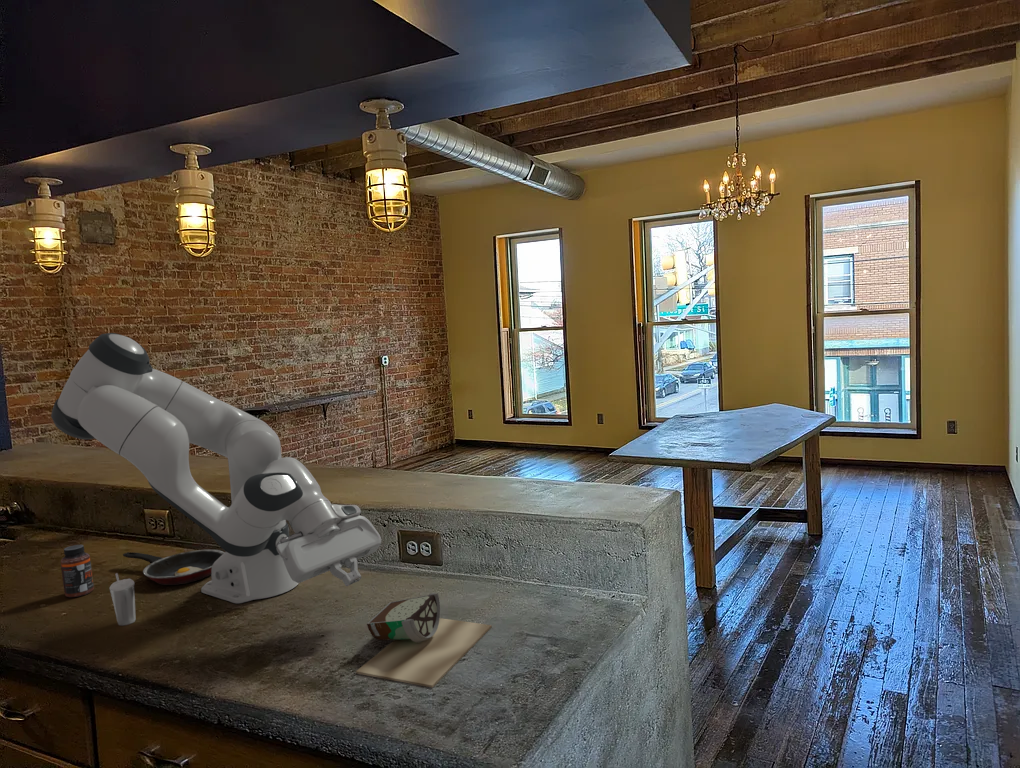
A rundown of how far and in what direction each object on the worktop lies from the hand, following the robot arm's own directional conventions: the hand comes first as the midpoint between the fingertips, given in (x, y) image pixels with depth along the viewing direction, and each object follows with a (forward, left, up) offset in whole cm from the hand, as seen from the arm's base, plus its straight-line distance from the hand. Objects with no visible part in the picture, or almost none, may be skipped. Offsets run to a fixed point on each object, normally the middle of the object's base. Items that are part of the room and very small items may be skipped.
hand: (354, 582), depth 132 cm
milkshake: (-52, -11, -10) cm, 54 cm away
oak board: (+17, -3, -9) cm, 20 cm away
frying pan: (-69, +13, -10) cm, 71 cm away
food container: (+7, -2, -8) cm, 10 cm away
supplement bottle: (-79, -3, -10) cm, 79 cm away
